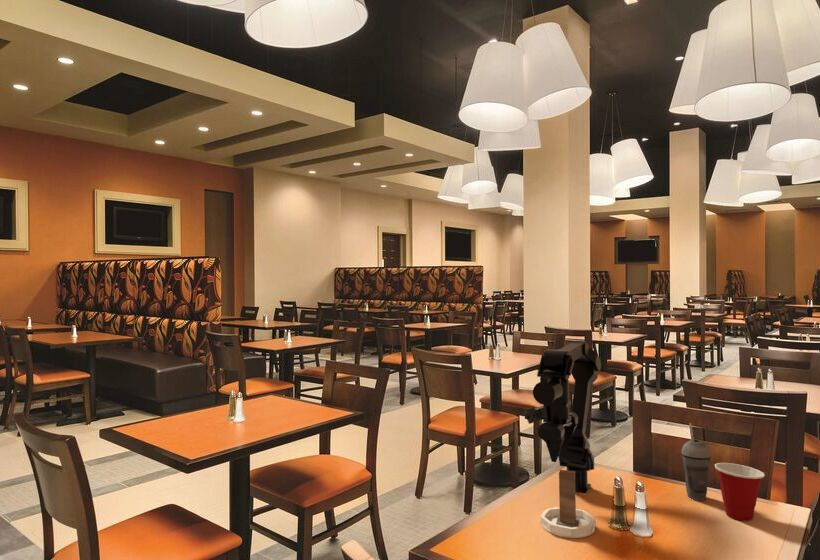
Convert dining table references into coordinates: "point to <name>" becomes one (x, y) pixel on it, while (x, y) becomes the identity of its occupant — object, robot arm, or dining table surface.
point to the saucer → (550, 526)
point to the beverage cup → (696, 467)
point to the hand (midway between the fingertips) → (558, 456)
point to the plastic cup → (739, 489)
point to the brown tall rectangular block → (567, 499)
